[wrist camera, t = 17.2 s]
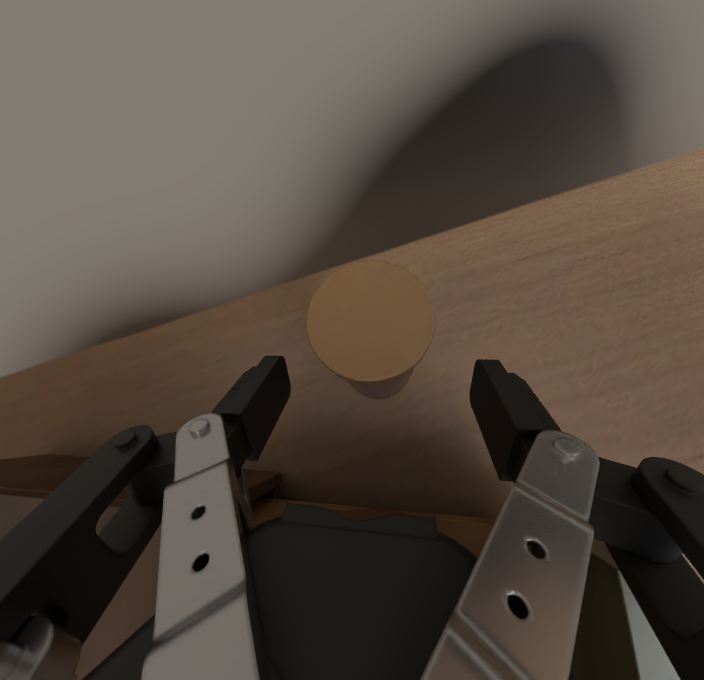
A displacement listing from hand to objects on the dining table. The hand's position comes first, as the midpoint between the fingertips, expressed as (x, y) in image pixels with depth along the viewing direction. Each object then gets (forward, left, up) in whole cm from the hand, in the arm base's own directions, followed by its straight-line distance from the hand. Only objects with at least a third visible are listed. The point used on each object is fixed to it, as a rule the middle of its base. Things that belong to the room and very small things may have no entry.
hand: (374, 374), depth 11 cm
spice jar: (0, -2, -8) cm, 8 cm away
